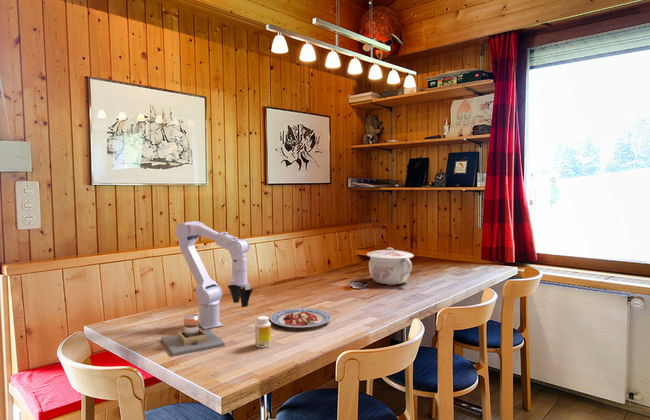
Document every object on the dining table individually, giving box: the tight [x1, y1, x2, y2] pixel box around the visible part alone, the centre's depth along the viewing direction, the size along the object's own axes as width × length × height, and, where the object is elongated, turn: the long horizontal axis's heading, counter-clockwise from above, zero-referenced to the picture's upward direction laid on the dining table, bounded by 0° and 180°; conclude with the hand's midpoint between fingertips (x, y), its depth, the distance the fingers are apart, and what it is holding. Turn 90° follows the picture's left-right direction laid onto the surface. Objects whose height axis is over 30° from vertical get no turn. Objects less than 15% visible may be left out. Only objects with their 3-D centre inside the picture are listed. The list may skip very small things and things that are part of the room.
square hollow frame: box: [177, 327, 207, 346], centre depth 164 cm, size 11×8×2 cm
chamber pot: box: [366, 247, 415, 286], centre depth 260 cm, size 28×28×21 cm
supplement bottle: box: [254, 315, 272, 349], centre depth 161 cm, size 6×6×10 cm
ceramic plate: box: [269, 307, 332, 329], centre depth 189 cm, size 26×26×3 cm
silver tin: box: [183, 313, 200, 338], centre depth 163 cm, size 5×5×9 cm
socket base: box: [160, 328, 226, 357], centre depth 164 cm, size 18×18×1 cm
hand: (240, 304), depth 177 cm, fingers open, 7 cm apart
